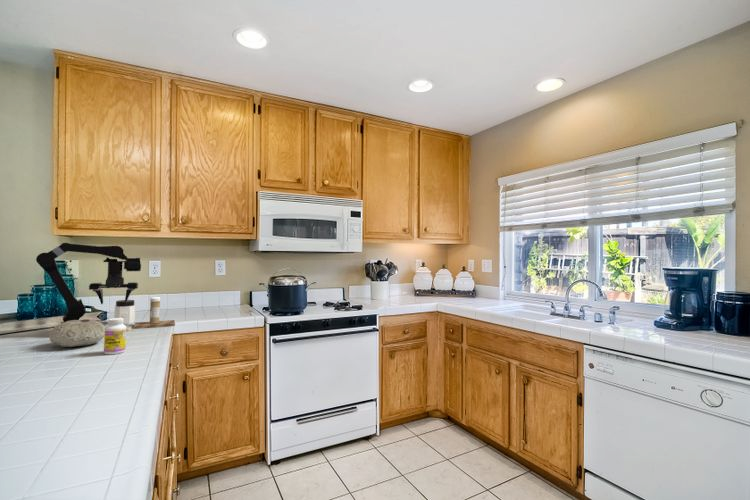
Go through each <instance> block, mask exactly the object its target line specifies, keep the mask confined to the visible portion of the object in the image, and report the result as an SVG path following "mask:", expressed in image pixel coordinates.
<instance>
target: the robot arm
mask: <svg viewBox="0 0 750 500" xmlns="http://www.w3.org/2000/svg"><path fill="white" fill-rule="evenodd" d="M67 252H70V253H71V252H72V253H73V252H75V253H82V254H83V253H85V254H96V255H101V256H107V257H106V258H104V260H103V261H102V262H103V263H107V277H106V280H105V283H102V282H92V283H90V284H89V285H88V290H92V292H95V293H96V295H97V296H98V299H99V302H100V304H101V305H103V304H104V294H103V293H104V291H103V289H119V288H122V289H123V288H126V293H125V298H124V300H125V303H126V302H127V300H129V297H130V294H131V293H132V292H133V291H134V290H137V289H139V282H137V281H135V282H131V281H130V282H127V283H125V278H124V277H123V270H126V272H141V271H142V270H141V269H142V264H141V258H140V257H133V258H132V257H128V256H127V255H125V253H124V249H123V247H121V246H119V245H105V246H104V245H103V246H97V245H88V244H87V245H86V244H77V243H68V242H63V243H61V244H59V246H56V247H55V248H53V249H52V250H50V251H48V252H41V253H39V254H38V255H37V256H36V259H35V261H36V263H37V264H38V265H39V266H40V267H41V268H42V269H43V270H44V272H46V273H47V274H48V275H49V278H50V280H51V281H52V283H53V284H54V286H55V288H56V289H57V290H58V292H59V294H60V295H61V297H62V299H63V300H64V302H65V306H66V309H67V312H66V313H65V314H63V316H62V321H61V322H60V324H61V323H63V322H67V321H70V320H81V319H80V318H82V317H84V315H85V314H86V308H87V306H86V305H85V304H84V303H83V299H82V298H79V299H77V298H76V297H75V295H74V294H73V293H72V290H71V289H70V287H69V286H68V284H67V282H66V281H65V279H64V277H63V276H62V274H61V272H60V271H59V268H58V265H57V262H56V261H57V260H56V258H59V257H60V256H62V255H63V254H65V253H67ZM110 257H111V258H110ZM118 259H119V260H118Z"/></svg>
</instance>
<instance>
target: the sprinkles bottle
mask: <svg viewBox="0 0 750 500" xmlns="http://www.w3.org/2000/svg"><path fill="white" fill-rule="evenodd" d="M149 299H150V300H149V302H150V307H149V321H148V322H149V323H150V324H156V323H159V321H160V315H161V313H160V312H161V307H160V306H161V297H159V296H153V297H150V298H149Z"/></svg>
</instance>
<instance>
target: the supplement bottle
mask: <svg viewBox="0 0 750 500" xmlns="http://www.w3.org/2000/svg"><path fill="white" fill-rule="evenodd" d="M123 321H124V319H123V318H109V319H108V321H107V322H108V325H107V326H105V336H104V337H103V338H104V339H103V340H104V342H103V354H105V355H108V356H109V355H118V354H122V353H125V352H126V345H127V344H126V342H127V341H126V340H127V339H126V338H127V331H126V328H127V325H126V324H123Z"/></svg>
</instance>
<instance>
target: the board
mask: <svg viewBox="0 0 750 500" xmlns="http://www.w3.org/2000/svg"><path fill="white" fill-rule="evenodd" d="M149 322H150V321H141V322H140V321H139V322H138V321H137V322H134V323H133V327H132V329H133V330H136V329H152V328H163V327H175V326H176V322H175V320H173V319H172V320H170V319H169V320H159V323H156V324H150V323H149Z"/></svg>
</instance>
